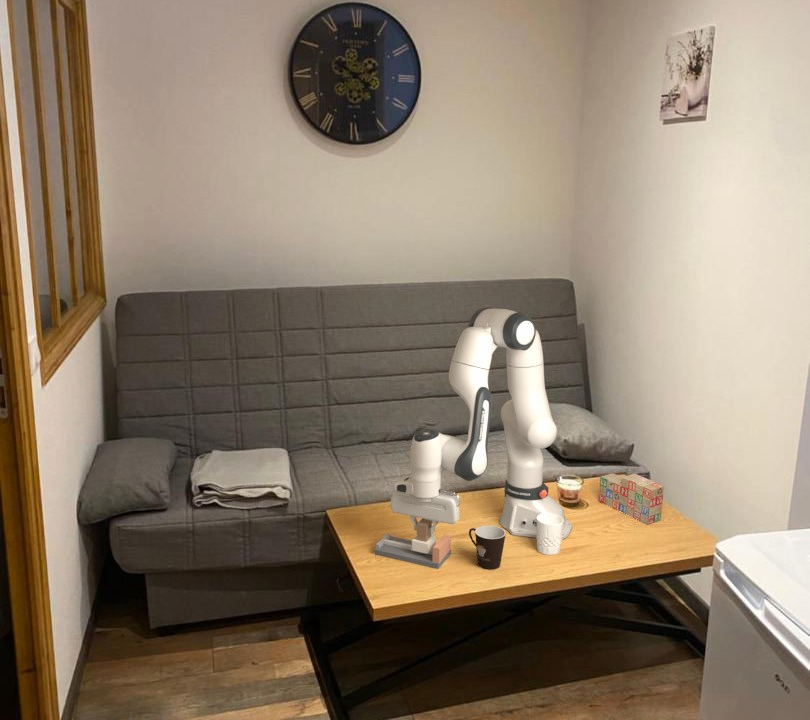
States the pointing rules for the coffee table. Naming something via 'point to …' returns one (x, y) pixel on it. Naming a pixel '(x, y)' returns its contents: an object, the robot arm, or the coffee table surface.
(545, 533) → the white cup
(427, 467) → the robot arm
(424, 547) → the shuttle
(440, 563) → the track
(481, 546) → the coffee mug
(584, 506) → the coffee table surface
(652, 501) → the stack of blocks
